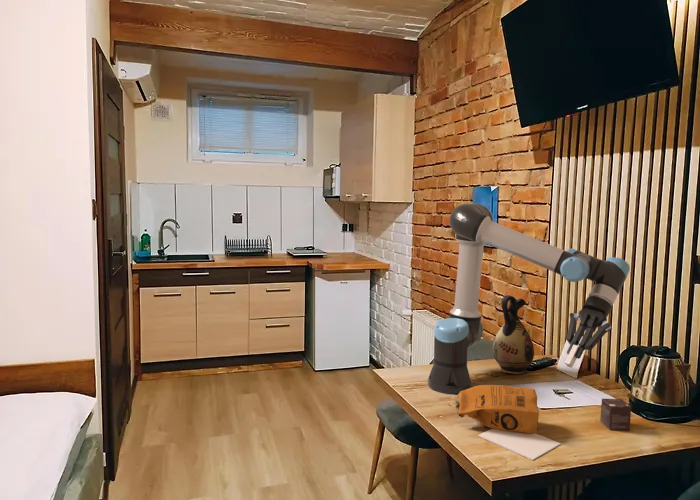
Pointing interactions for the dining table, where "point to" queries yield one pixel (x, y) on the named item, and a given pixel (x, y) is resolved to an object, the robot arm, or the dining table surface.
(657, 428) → the dining table surface
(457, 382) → the robot arm
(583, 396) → the dining table surface
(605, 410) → the box
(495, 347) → the ceramic jug
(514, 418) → the coffee package
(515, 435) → the mat
